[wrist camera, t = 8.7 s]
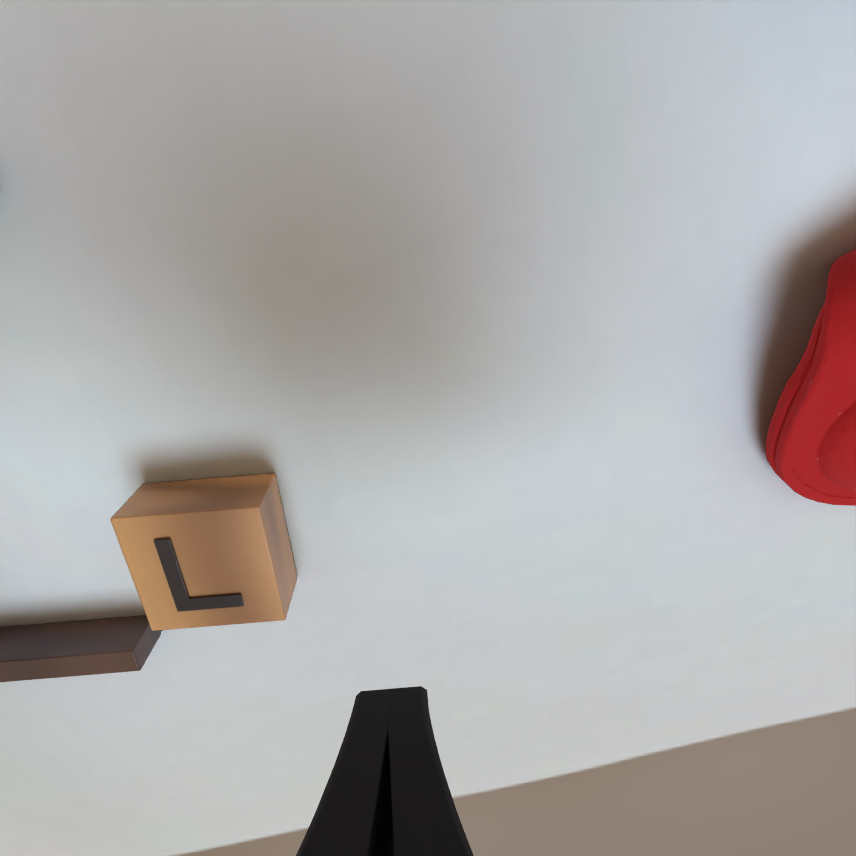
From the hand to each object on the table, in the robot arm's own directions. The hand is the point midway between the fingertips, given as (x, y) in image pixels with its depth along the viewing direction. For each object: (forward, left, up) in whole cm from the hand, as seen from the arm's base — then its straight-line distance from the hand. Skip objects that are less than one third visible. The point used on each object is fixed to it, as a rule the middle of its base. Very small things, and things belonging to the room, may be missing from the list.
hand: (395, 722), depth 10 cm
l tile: (-7, -1, -9) cm, 11 cm away
